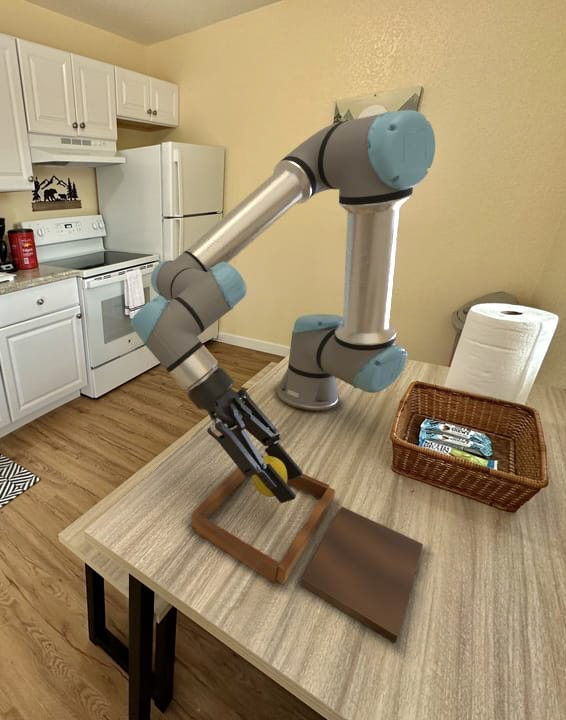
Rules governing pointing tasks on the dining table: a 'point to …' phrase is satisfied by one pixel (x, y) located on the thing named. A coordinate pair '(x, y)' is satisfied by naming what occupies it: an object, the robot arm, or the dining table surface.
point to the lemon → (278, 468)
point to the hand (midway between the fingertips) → (292, 487)
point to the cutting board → (365, 571)
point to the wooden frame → (249, 553)
